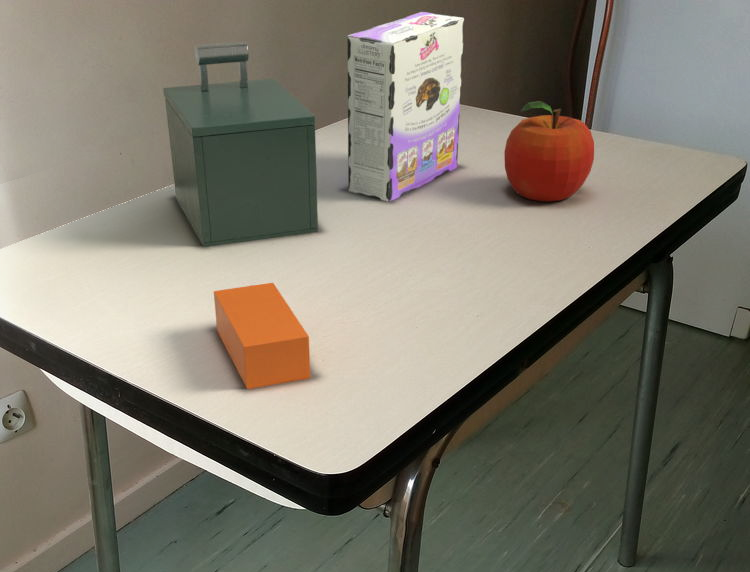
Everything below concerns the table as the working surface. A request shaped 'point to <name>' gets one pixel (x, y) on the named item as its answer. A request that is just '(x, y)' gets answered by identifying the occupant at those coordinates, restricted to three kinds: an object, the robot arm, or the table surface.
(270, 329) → the block
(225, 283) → the table surface
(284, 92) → the bin lid
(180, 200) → the bin
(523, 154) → the fruit
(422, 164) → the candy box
